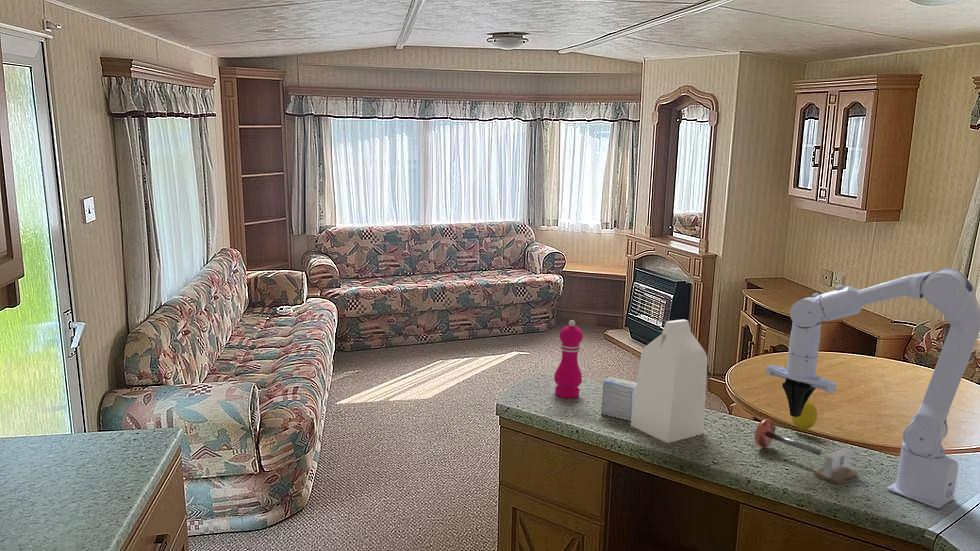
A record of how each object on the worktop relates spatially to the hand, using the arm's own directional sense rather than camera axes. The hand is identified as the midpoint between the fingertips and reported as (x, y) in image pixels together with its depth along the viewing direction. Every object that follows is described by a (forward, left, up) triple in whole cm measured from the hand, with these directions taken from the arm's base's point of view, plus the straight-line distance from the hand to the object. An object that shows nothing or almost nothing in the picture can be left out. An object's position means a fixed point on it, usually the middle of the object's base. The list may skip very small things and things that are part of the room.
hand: (795, 415), depth 156 cm
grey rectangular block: (+37, +14, -10) cm, 40 cm away
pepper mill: (+55, +14, -10) cm, 57 cm away
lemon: (+7, -17, -10) cm, 21 cm away
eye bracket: (-10, +1, -9) cm, 14 cm away
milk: (+25, +11, -10) cm, 29 cm away
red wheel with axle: (0, +1, -9) cm, 9 cm away
